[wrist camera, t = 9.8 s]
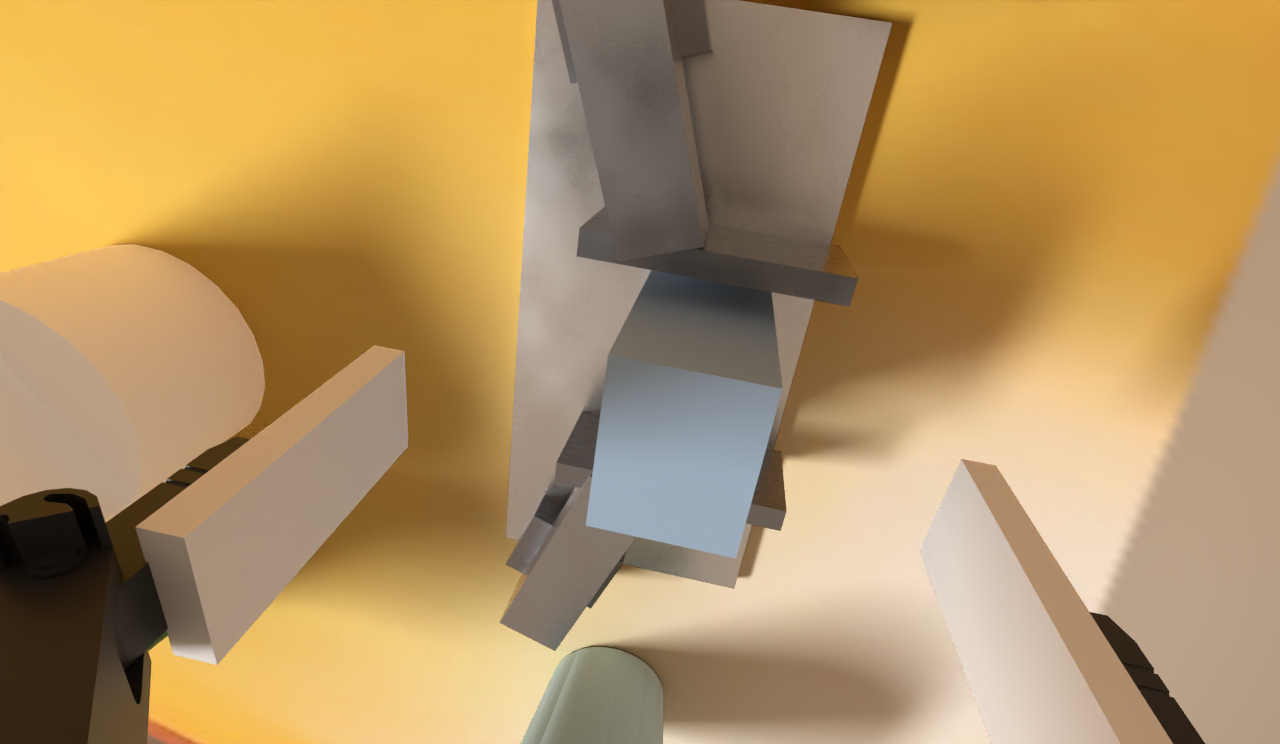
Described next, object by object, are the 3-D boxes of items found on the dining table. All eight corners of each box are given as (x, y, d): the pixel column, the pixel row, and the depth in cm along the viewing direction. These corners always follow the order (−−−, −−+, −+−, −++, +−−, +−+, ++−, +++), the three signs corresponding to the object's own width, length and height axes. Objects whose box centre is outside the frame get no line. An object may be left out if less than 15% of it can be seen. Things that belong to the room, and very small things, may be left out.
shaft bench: (549, -87, 18) (492, -135, 14) (916, -35, 17) (967, -72, 13) (508, 554, 28) (470, 630, 24) (734, 604, 27) (732, 692, 23)
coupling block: (739, 418, 23) (736, 558, 16) (632, 397, 23) (585, 525, 16) (771, 288, 21) (782, 388, 14) (653, 267, 21) (607, 354, 14)
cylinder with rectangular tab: (306, 401, 26) (3, 620, 16) (169, 465, 29) (-169, 687, 18) (161, 205, 24) (-331, 307, 13) (25, 296, 26) (-473, 443, 16)
